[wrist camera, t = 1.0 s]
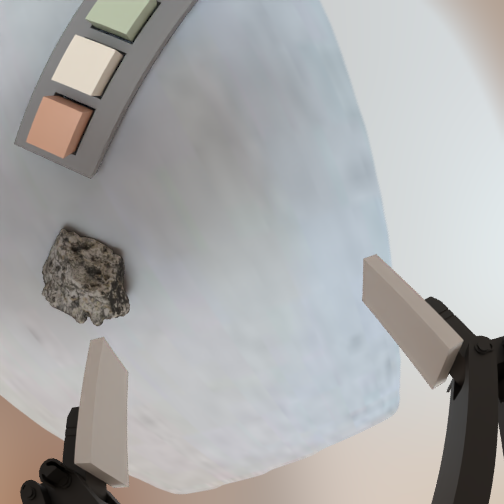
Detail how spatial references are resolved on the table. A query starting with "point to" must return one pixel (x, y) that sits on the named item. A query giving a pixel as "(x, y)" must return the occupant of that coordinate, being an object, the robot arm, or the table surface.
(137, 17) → the key sage
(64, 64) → the key cream
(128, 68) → the grey socket tray
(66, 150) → the key terracotta
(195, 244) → the table surface
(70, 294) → the rock
